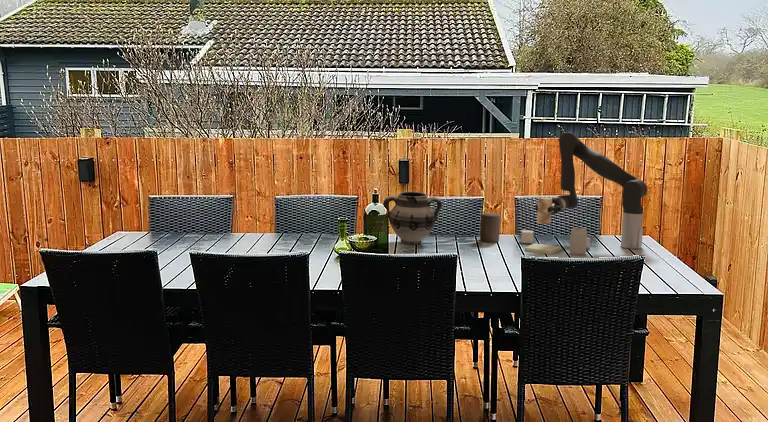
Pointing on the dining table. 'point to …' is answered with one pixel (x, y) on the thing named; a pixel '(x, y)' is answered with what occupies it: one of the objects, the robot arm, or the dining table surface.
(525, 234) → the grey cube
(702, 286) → the dining table surface
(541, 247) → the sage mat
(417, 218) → the ceramic pot
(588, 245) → the steel puck
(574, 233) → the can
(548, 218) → the oak block
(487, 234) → the pillar candle
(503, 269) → the dining table surface
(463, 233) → the dining table surface
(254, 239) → the dining table surface
